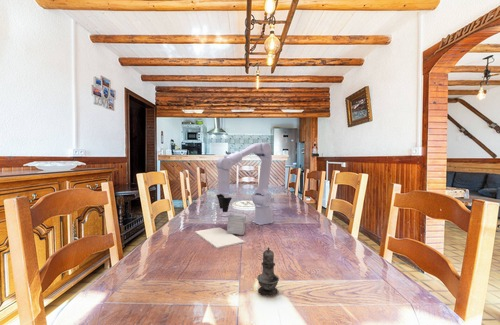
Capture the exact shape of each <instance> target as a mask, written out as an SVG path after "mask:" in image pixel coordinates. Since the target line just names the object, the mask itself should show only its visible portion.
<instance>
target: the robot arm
mask: <svg viewBox="0 0 500 325" xmlns="http://www.w3.org/2000/svg"><path fill="white" fill-rule="evenodd" d="M272 150H273V147H272V146H271V144H270V143H269V142H267V141H265V142H255V143H251V144H250V145H248V146H247V147H245V148H242V150H240V151H237V150H231V153H230V154H229V153H228V154H226V155H224V157H219V158H218V159H217V160H216V162H215V167H216V169H217V191H215V194H216V199H217V200H218V205H219V209H221V210H222V212H223V213H228V211H229V207H230V204H231V201H232V196H230V194H231V190H230V189H231V188H230V184H231V183H230V182H231V180H230V178H231V177H230V173H231V172H230V170H231V169H232V167H233V166H235V165H237V164H238V163H240V162H242V160H243V158H245V157H246V156H248V155H249V156H250V155H251V154H254V155H255V156H257V157H258V158H259V159H260V160H261V163H260V170H259V178H258V186H257V188H256V190H254V194H253V196H252V200H251V201H252V203H253V206H254V220H252V221H251V222H252V223H254V224H256V225H259V226H263V225H267V224H269V225H270V224H274V220H273V219H274V218H273V217H274V216H273V215H274V214H273V213H274V211H273V207H272V206H271V204H272V198H271V196H272V194H271V191H270V190H269V184H270V175H271V170H272V168H271V167H272V160H273V158H272Z"/></svg>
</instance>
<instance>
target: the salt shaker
mask: <svg viewBox="0 0 500 325" xmlns="http://www.w3.org/2000/svg"><path fill="white" fill-rule="evenodd" d="M274 257H275V256H274V251H272V250H270V247H269V246H268V247H267V248H266V250H264V251H263V253H262V262H261V266H262V272H261V273H259V274H258V275H257V278H256V279H257V281H258V284H259V288H257V289H258V290H257V292H258V294H260V296H263V297H267V298H268V297H269V298H271V297H275V296H276V295H277V294H278V292H279V290H278V288H277V285H278V283H279V281H280V277H279V276H278V275H277V274H276V273H275V268H274V267H275V266H276V263H275V261H274V259H275V258H274Z"/></svg>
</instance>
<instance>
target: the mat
mask: <svg viewBox="0 0 500 325" xmlns="http://www.w3.org/2000/svg"><path fill="white" fill-rule="evenodd" d="M194 233H195V234H196V235H197V236H199V237H200V238H202V239H203V240H204V241H206V242H207V243H208V244H210V245H211V246H213V247H214V248H215V249H222V248H226V247H231V246H235V245H240V244H244V243H246V241H245V240H243V239H242V238H241V237H238V236H236V234H230V233H227V229H223V228H221V227H213V228H212V227H211V228H207V229H202V230H201V229H200V230H195V231H194Z"/></svg>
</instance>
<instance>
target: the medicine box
mask: <svg viewBox="0 0 500 325" xmlns="http://www.w3.org/2000/svg"><path fill="white" fill-rule="evenodd" d="M246 218H247V217H246V214H242V213H241V214H239V213H232V212H231V213H229V214H228V215H227V226H226V227H227V228H226V231H227V233H230V234H233V235H238V236H239V235H241V236H244V234H245V229H246V228H245V227H246Z"/></svg>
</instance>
